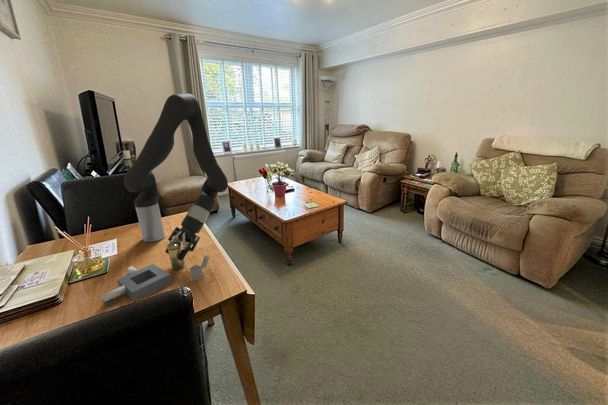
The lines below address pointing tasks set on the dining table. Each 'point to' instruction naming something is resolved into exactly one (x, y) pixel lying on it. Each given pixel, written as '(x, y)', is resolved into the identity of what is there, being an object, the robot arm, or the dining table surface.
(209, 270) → the dining table surface
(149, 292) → the shaft housing
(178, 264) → the gold cylindrical piece
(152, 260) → the dining table surface
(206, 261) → the lighter
